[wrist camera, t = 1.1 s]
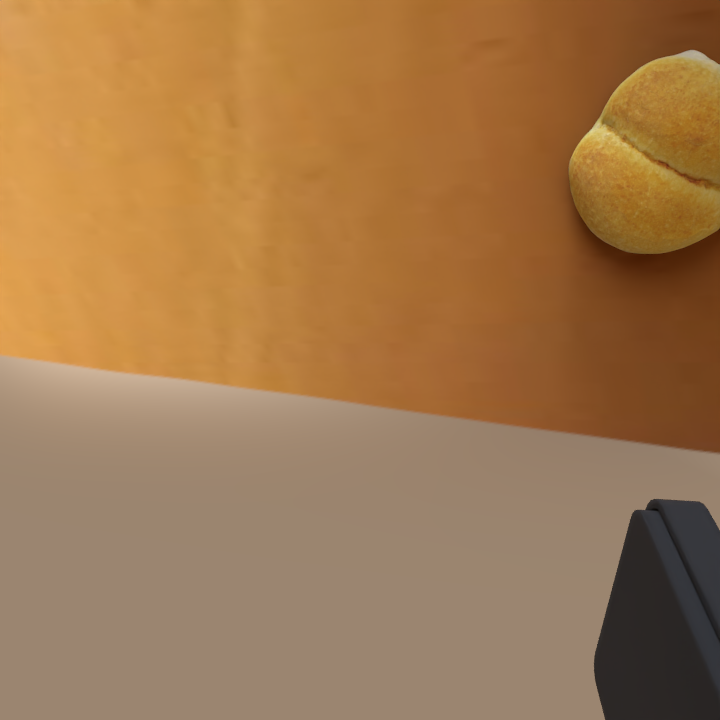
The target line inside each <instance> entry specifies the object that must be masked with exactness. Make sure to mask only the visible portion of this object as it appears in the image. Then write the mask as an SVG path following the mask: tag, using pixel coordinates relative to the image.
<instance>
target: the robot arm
mask: <svg viewBox="0 0 720 720" xmlns="http://www.w3.org/2000/svg"><path fill="white" fill-rule="evenodd" d="M594 673H595V681H596V686H597V689H598V693H599V697H600V701H601V705H602V709H603V713H604V716H605V720H720V530H719V529H718V527H717V525H716V523H715V521H714V520H713V518H712V516H711V515H710V513H709V511H708V509H707V508H706V507H705V505H704V504H702V503H700V502H696V501H678V500H663V499H653V500H651V501H650V502H649V503H648V505H647V507H646V510H636V511H634V512H633V514H632V516H631V519H630V523H629V527H628V531H627V534H626V538H625V542H624V546H623V550H622V554H621V557H620V561H619V565H618V568H617V572H616V576H615V580H614V584H613V588H612V591H611V595H610V599H609V603H608V607H607V610H606V614H605V618H604V622H603V626H602V629H601V633H600V637H599V641H598V644H597V648H596V652H595V659H594Z"/></svg>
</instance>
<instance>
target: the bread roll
mask: <svg viewBox="0 0 720 720" xmlns="http://www.w3.org/2000/svg"><path fill="white" fill-rule="evenodd" d="M568 171H569V182H570V189H571V194H572V197H573V200H574V203H575V206H576V208H577V210H578V212H579V214H580V216H581V217H582V219H583V220H584V222H585V223H586V225H587V226H588V228H589V229H590V230H591V232H593V233H594V234H595V235H596V236H597V237H598V238H600V239H601V240H603V241H604V242H606V243H608V244H610V245H612V246H614V247H616V248H618V249H620V250H623V251H625V252H630V253H638V254H660V253H665V252H670V251H674V250H678V249H681V248H684V247H687V246H689V245H691V244H693V243H696V242H698V241H700V240H702V239H704V238H705V237H707V236H709V235H711V234H712V233H714V232H716V231H717V230H718V229H719V228H720V64H717V63H716V62H715V61H713V60H711V59H710V58H708V57H706V55H704V54H702V53H700V52H698V51H695V50H688V51H685V52H683V53H680V54H677V55H674V56H668V57H664V58H659V59H656V60H654V61H651V62H649V63H647V64H645V65H644V66H642V67H641V68H639V69H638V70H637V71H636V72H634V73H633V74H632V75H631V76H629V77H628V78H627V79H626V80H625V81H624V82H623V83H621V84H620V85H619V87H618V88H617V89H616V90H615V91H614V93H613V94H612V96H611V97H610V99H609V101H608V103H607V104H606V106H605V108H604V110H603V112H602V114H601V116H600V117H599V119H598V120H597V122H596V123H595V125H594V126H593V128H592V129H591V130H590V131H589V132H588V133H587V134H586V135H585V136H584V138H583V139H582V140H581V142H580V143H579V144H578V146H577V147H576V149H575V151H574V153H573V155H572V157H571V160H570V162H569V168H568Z"/></svg>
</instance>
